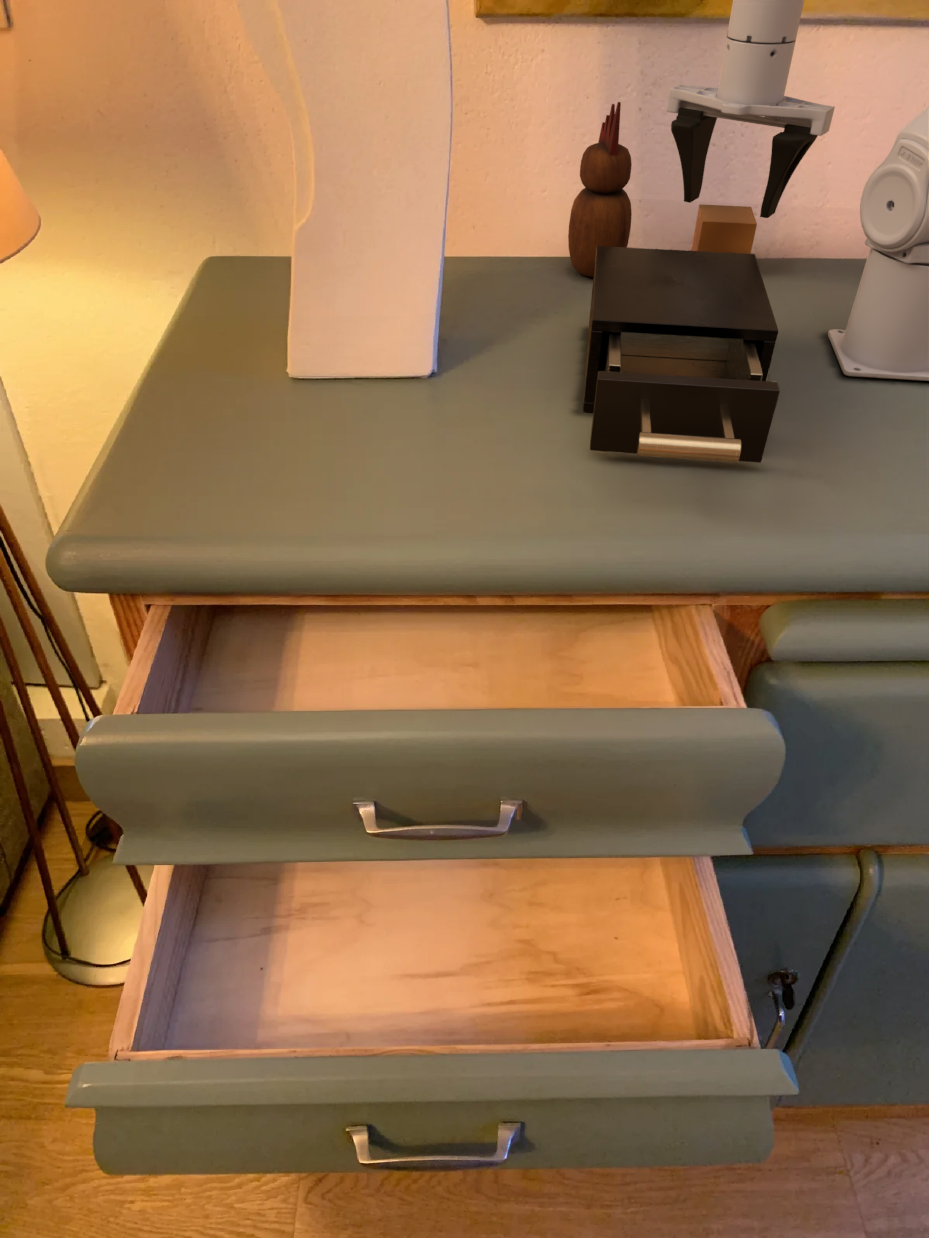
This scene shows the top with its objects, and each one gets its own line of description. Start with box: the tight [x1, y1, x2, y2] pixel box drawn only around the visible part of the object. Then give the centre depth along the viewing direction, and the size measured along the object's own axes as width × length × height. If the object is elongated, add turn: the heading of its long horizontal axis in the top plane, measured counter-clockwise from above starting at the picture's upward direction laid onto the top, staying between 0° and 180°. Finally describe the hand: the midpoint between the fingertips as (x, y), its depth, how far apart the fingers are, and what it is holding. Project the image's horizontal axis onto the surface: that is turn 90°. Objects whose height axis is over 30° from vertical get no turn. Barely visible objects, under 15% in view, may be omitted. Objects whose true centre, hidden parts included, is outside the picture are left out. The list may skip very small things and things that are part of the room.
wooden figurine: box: [567, 101, 633, 278], centre depth 82 cm, size 7×6×15 cm
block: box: [690, 203, 758, 254], centre depth 87 cm, size 5×5×5 cm
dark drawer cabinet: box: [582, 246, 780, 413], centre depth 69 cm, size 15×13×7 cm
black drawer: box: [589, 331, 781, 463], centre depth 61 cm, size 19×11×5 cm, turn 172°
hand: (728, 207), depth 85 cm, fingers open, 7 cm apart
